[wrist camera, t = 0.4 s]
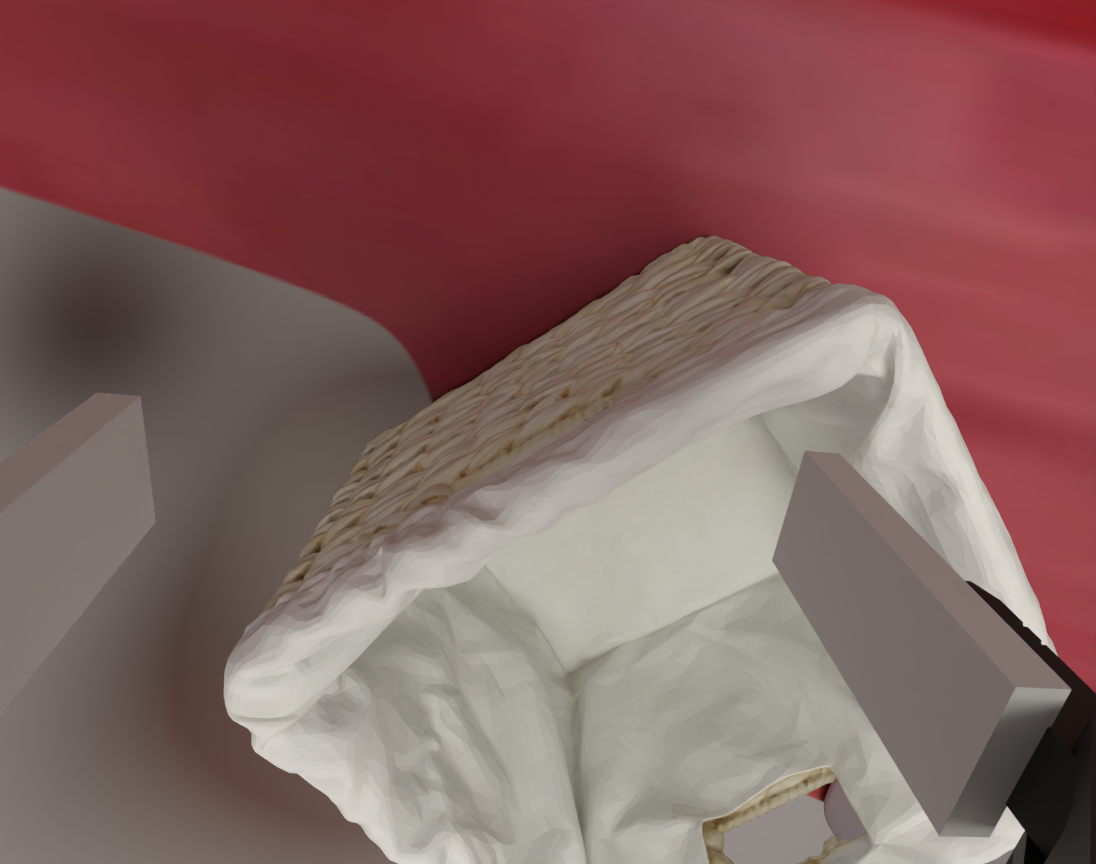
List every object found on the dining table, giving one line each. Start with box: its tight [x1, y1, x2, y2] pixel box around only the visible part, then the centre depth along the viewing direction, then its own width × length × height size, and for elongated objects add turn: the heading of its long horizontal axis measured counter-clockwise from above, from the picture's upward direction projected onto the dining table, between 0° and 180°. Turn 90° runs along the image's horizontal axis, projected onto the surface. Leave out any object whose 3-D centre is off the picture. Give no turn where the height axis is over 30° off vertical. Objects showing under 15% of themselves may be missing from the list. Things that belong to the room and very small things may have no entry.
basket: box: [224, 236, 1058, 864], centre depth 36 cm, size 27×27×22 cm
